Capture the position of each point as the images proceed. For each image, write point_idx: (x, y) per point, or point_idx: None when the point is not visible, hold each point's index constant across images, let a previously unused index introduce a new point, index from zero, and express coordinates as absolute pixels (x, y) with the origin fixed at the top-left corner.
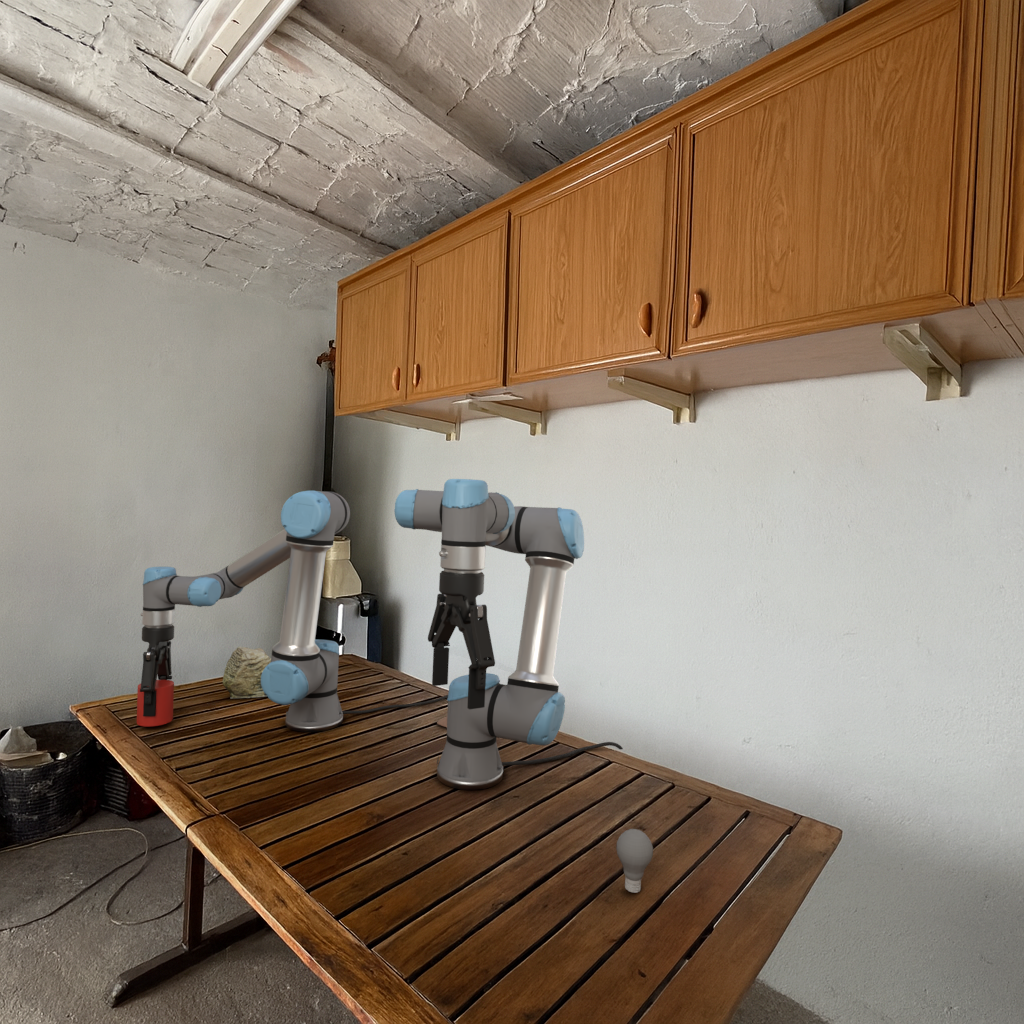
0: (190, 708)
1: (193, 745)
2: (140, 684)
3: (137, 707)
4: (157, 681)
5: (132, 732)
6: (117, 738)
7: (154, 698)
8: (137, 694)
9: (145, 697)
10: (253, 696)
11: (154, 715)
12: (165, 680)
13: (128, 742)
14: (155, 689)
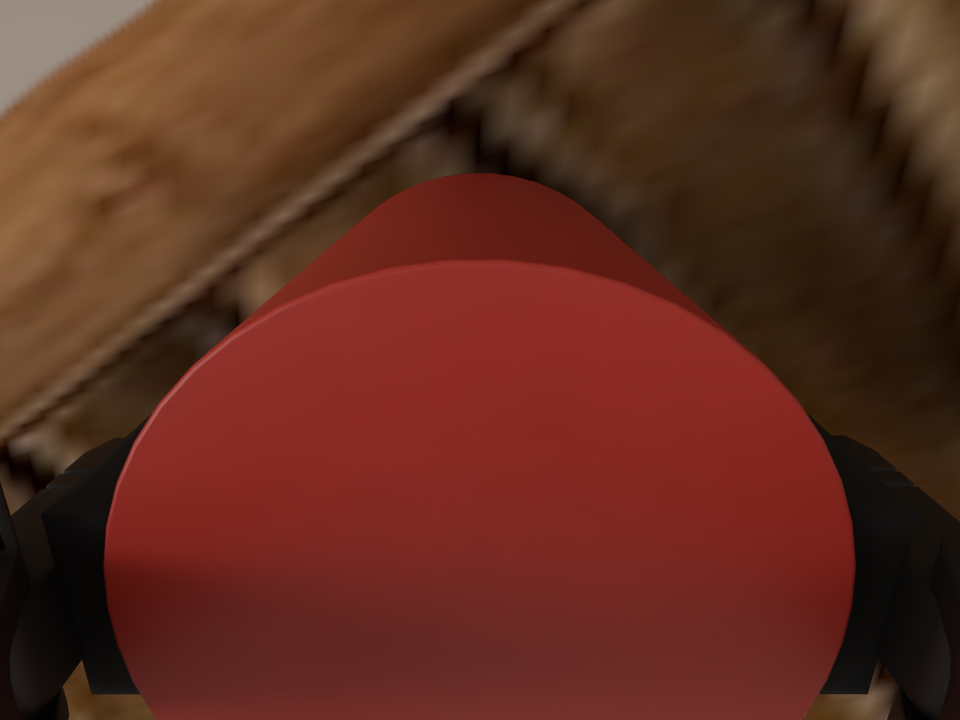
0: (949, 472)
1: (86, 686)
2: (474, 306)
3: (351, 230)
4: (710, 590)
5: (330, 175)
6: (163, 89)
7: None
8: (351, 248)
9: (24, 513)
10: None
11: None
12: (757, 708)
13: (77, 236)
14: (148, 692)
